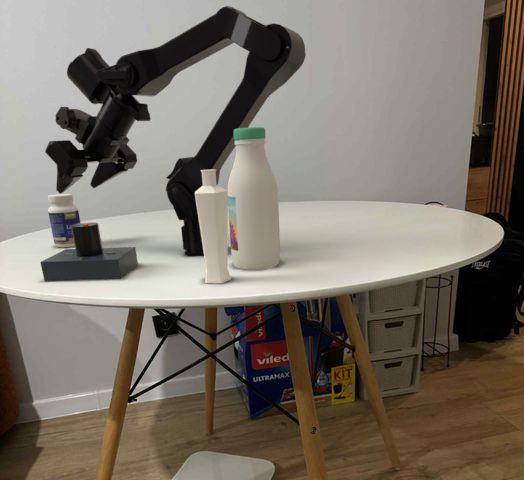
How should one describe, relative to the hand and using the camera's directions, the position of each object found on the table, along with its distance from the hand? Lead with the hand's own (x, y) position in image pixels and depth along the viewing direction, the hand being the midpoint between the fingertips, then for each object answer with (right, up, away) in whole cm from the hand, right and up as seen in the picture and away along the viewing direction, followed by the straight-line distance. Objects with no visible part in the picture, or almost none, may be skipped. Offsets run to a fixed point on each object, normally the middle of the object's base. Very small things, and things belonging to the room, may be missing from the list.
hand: (76, 189), depth 97 cm
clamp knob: (+9, -16, -18) cm, 26 cm away
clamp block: (+9, -19, -17) cm, 27 cm away
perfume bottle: (+30, -21, -25) cm, 44 cm away
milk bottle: (+35, -18, -17) cm, 43 cm away
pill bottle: (-4, -10, +6) cm, 12 cm away
